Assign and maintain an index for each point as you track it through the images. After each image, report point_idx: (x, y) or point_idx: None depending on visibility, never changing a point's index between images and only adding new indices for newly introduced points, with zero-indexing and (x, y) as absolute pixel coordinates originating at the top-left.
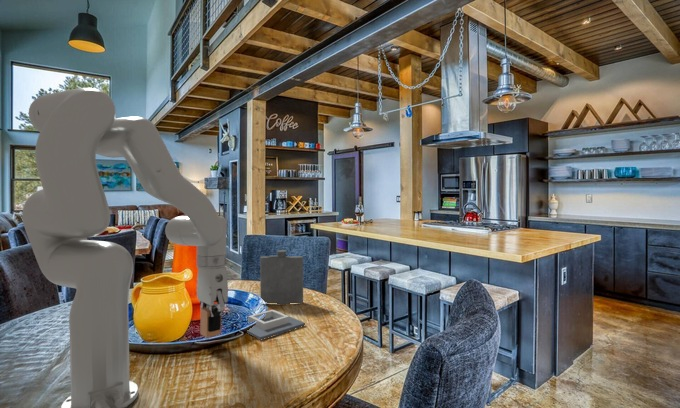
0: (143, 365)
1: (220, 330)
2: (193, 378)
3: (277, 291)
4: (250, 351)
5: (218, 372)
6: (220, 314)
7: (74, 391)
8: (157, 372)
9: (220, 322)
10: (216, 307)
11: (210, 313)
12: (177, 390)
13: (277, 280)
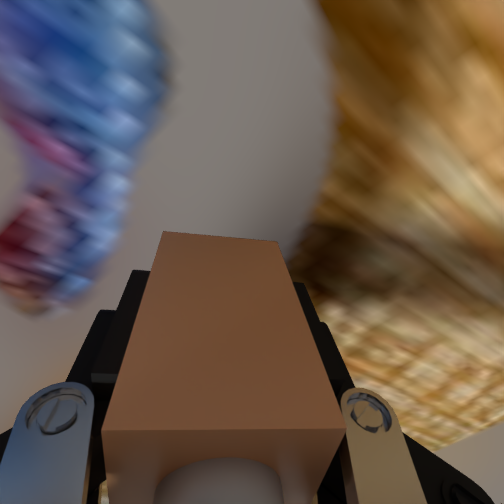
0: None
1: (281, 260)
2: (412, 397)
3: None
4: (497, 164)
5: (465, 345)
6: (383, 410)
7: None
8: None
9: (317, 317)
10: (236, 447)
11: (324, 494)
12: (418, 431)
13: None
